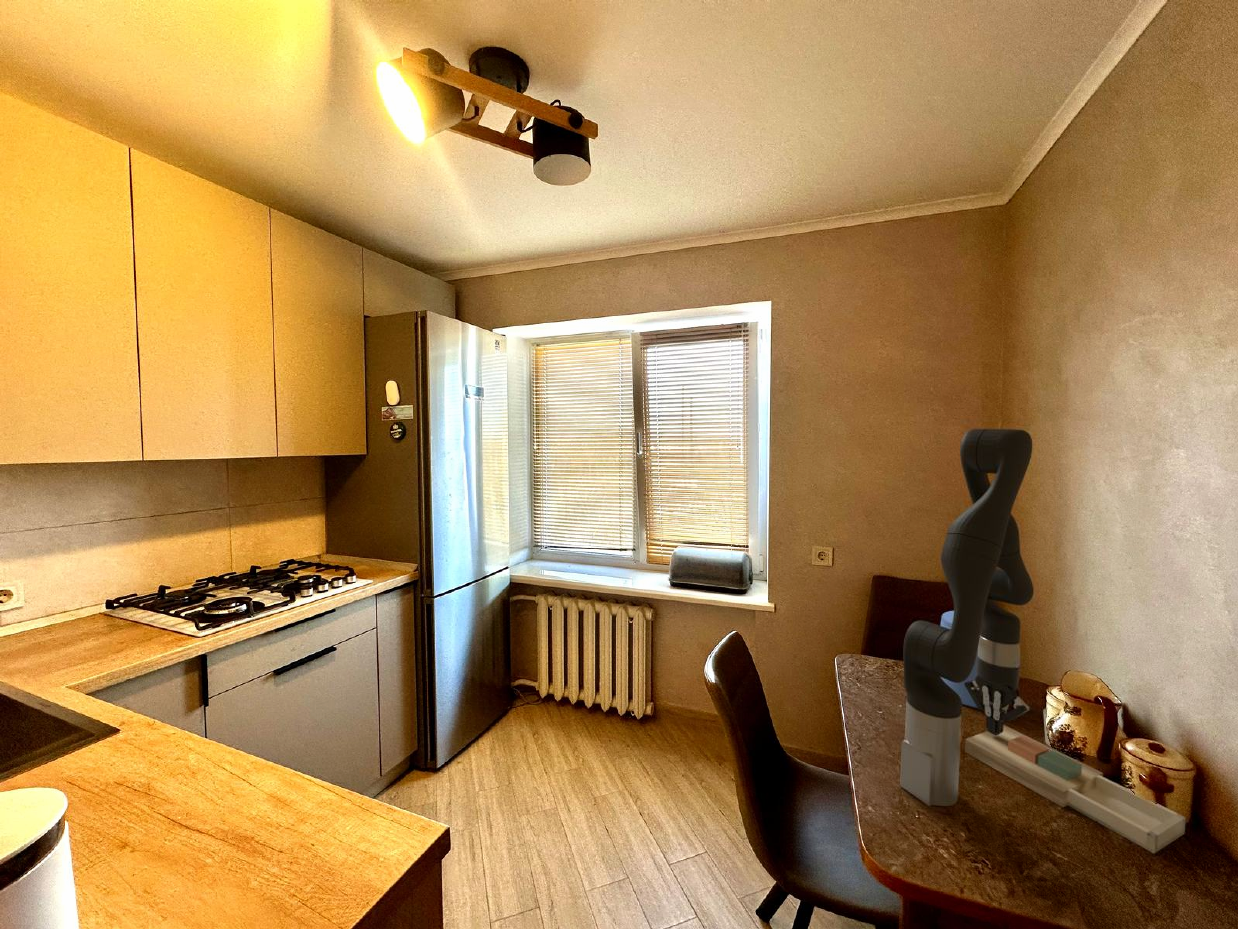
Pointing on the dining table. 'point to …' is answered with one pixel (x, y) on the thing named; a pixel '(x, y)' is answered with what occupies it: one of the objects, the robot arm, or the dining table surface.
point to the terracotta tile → (1027, 748)
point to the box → (1129, 814)
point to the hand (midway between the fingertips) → (994, 733)
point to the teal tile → (1060, 765)
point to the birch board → (1028, 767)
